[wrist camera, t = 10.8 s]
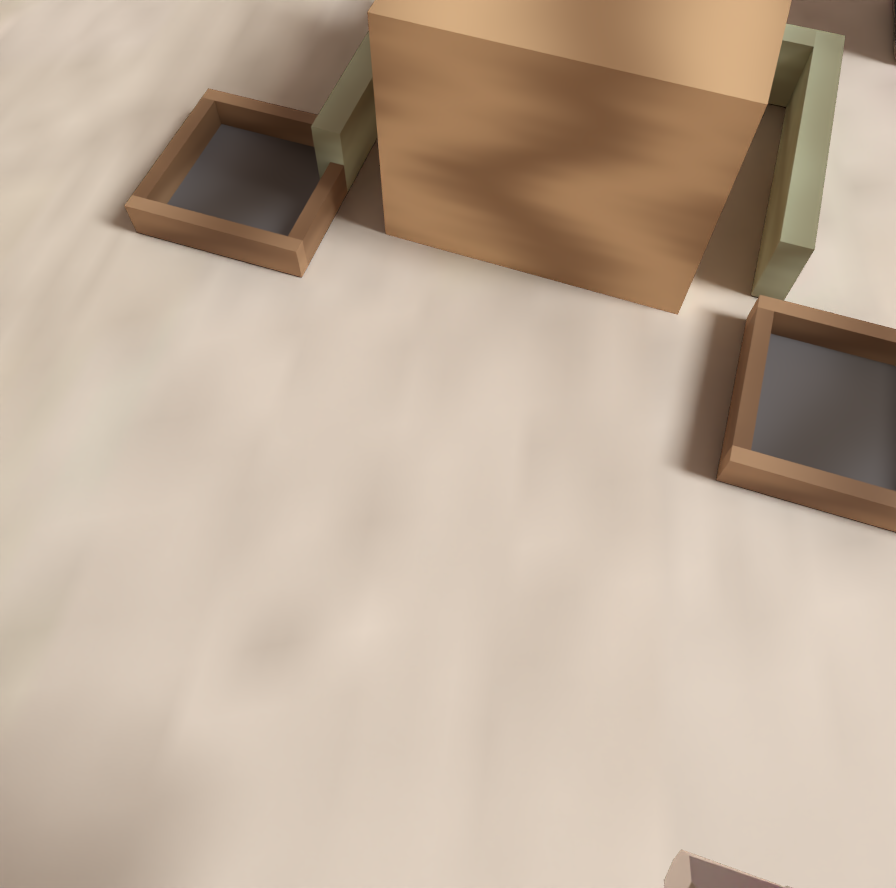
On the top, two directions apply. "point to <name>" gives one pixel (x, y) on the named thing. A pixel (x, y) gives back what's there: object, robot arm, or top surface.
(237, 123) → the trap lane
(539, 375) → the top surface
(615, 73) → the block
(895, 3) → the candy bar box
